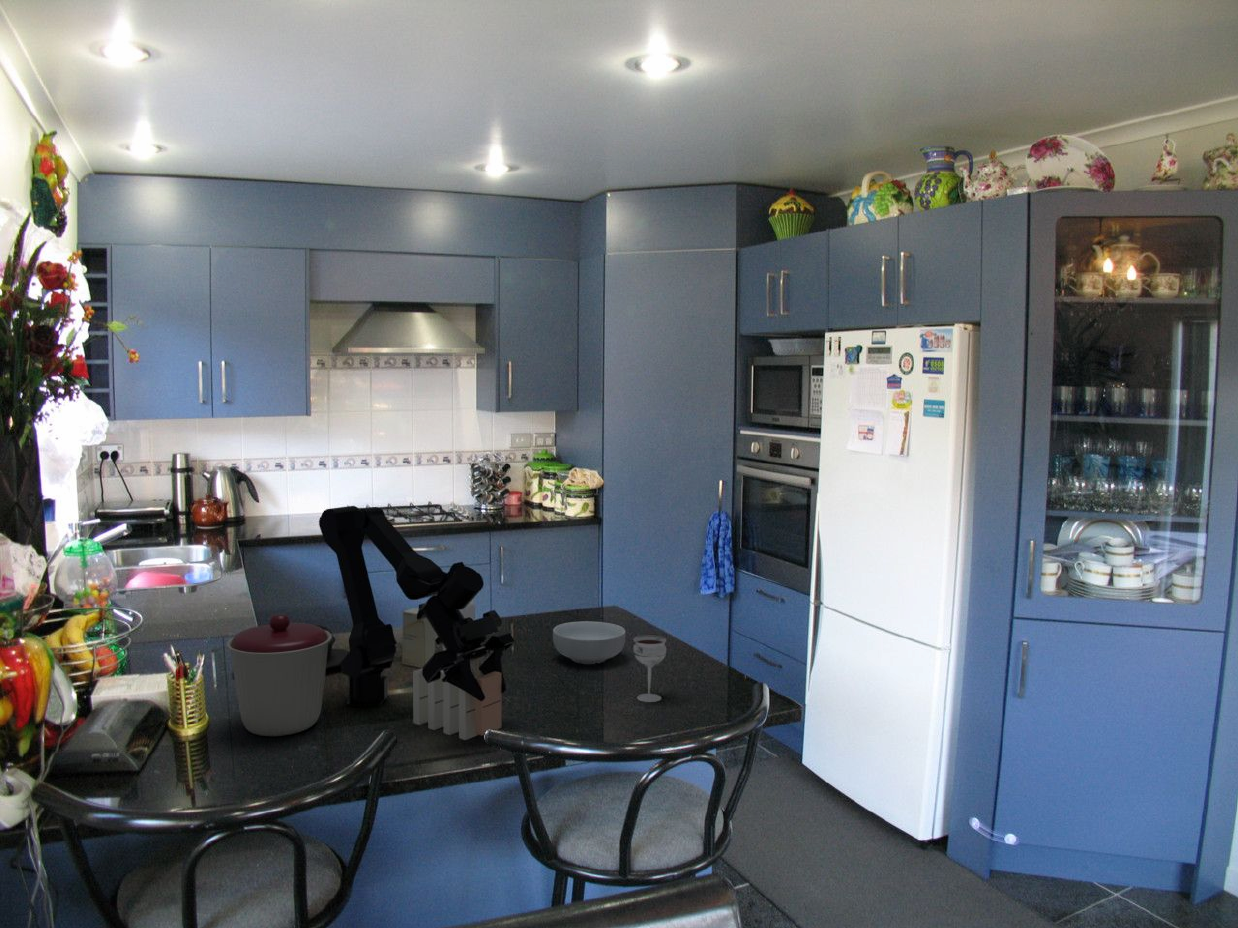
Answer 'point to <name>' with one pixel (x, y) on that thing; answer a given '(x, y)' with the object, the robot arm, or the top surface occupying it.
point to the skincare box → (417, 639)
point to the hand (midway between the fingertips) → (494, 695)
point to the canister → (279, 675)
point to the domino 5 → (488, 703)
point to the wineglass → (649, 658)
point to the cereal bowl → (589, 641)
